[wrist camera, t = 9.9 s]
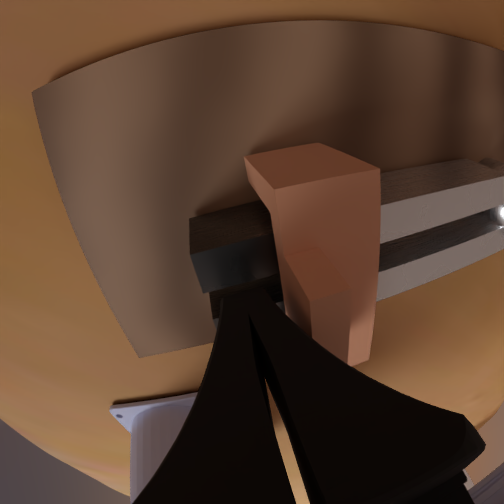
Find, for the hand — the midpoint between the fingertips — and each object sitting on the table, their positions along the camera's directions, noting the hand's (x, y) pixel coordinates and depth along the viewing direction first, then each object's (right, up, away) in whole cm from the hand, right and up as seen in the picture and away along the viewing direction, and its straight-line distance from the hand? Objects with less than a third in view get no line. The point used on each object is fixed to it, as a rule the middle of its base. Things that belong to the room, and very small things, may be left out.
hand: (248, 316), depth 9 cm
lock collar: (+2, +3, +4) cm, 5 cm away
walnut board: (+5, +6, +4) cm, 9 cm away
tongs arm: (+5, +5, +3) cm, 7 cm away
